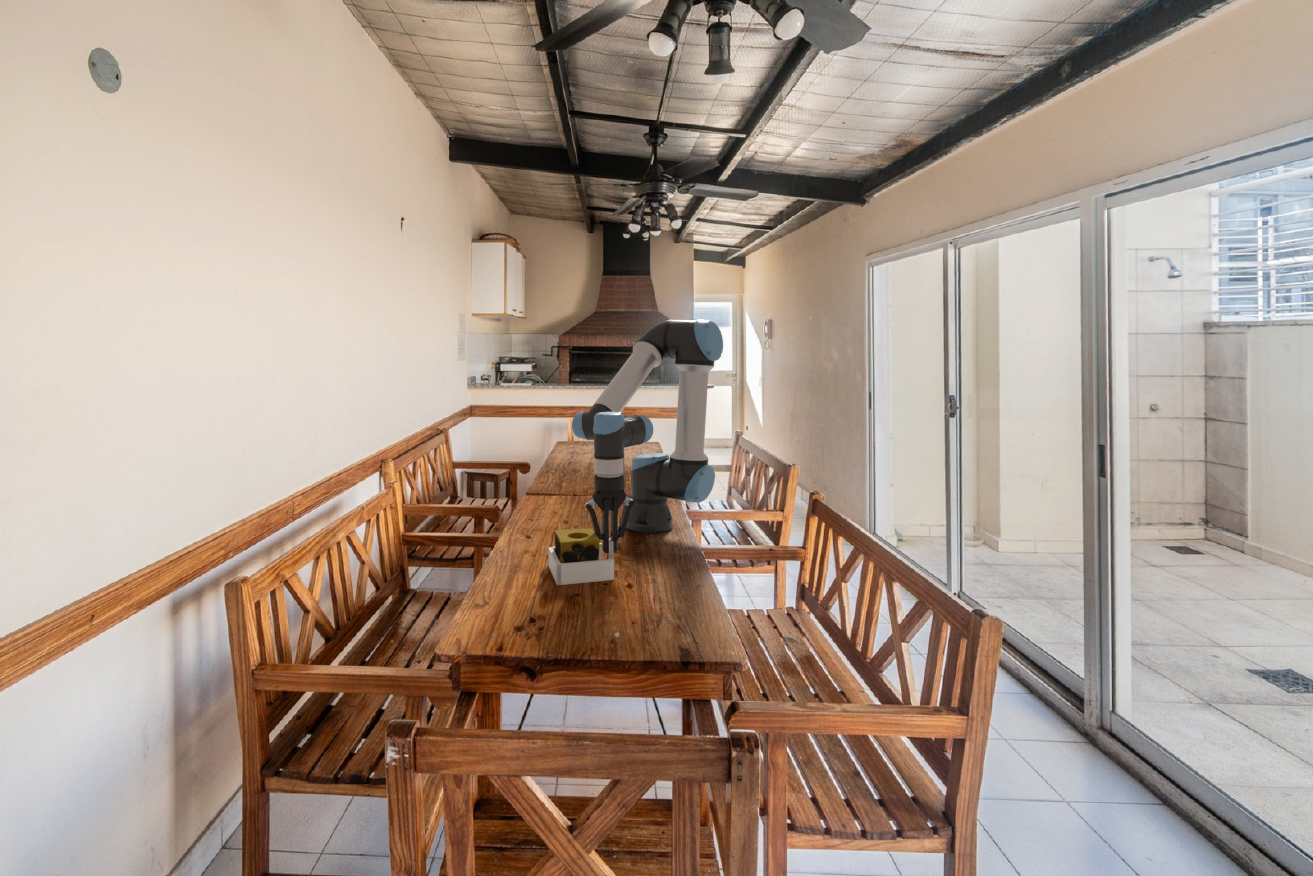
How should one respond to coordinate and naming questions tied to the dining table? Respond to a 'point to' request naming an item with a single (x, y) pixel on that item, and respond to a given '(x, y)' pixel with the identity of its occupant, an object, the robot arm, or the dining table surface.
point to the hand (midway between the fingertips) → (610, 564)
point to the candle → (576, 545)
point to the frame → (580, 569)
